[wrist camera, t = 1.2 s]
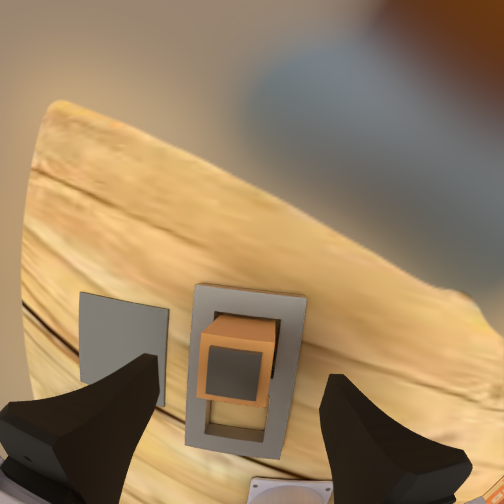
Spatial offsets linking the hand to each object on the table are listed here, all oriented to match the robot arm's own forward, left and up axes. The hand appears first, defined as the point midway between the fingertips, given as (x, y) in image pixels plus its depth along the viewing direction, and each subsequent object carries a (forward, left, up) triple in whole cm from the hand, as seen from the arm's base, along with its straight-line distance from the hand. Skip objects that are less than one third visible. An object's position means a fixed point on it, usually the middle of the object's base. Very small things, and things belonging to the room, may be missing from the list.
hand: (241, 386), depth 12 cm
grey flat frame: (-4, +1, -12) cm, 12 cm away
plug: (-1, +1, -12) cm, 12 cm away
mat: (-4, +12, -12) cm, 17 cm away
